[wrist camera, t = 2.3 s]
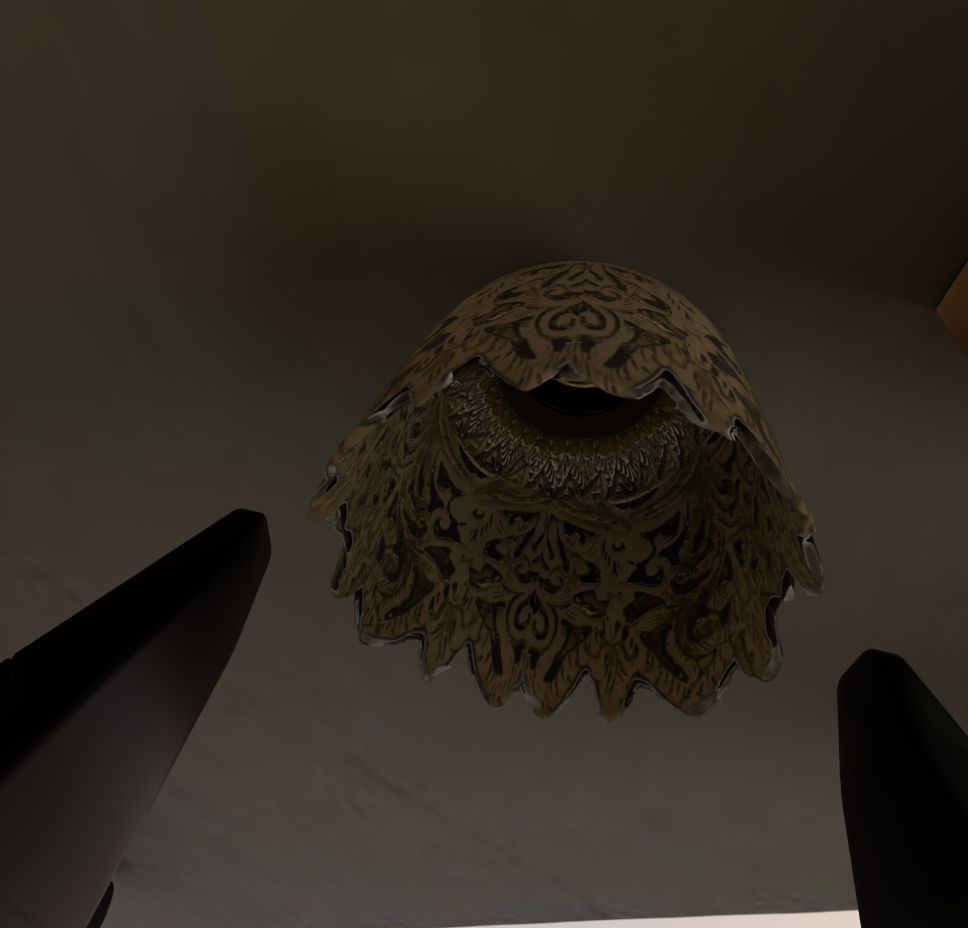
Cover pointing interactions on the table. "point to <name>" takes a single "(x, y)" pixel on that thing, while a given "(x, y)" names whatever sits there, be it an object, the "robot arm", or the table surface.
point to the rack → (957, 309)
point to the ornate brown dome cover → (572, 498)
